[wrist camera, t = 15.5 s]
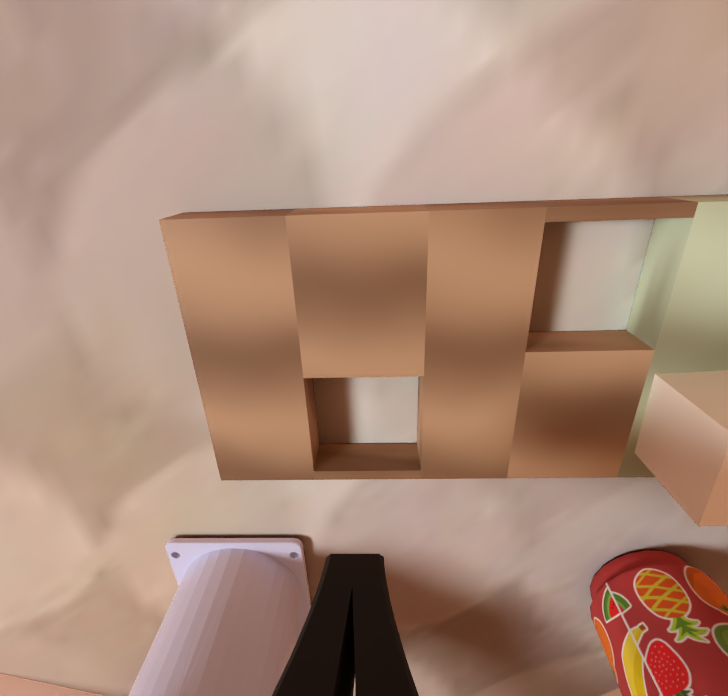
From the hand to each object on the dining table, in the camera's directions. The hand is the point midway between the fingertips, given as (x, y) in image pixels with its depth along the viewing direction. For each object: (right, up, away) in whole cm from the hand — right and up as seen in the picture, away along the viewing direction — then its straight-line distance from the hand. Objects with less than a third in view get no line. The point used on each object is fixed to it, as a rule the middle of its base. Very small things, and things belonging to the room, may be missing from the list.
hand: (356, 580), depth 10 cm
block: (+14, +3, +7) cm, 16 cm away
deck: (+5, +6, +8) cm, 11 cm away
